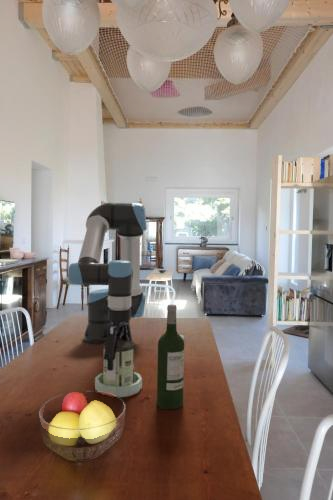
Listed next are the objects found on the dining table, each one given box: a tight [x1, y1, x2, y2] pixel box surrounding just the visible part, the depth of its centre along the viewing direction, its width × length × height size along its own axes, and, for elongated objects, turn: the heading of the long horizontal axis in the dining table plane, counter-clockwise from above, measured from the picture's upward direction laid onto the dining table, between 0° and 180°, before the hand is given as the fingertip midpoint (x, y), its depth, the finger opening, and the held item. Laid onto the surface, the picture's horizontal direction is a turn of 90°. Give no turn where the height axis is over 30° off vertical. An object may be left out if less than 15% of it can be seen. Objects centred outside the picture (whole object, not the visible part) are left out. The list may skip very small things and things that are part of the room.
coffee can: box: [102, 339, 136, 387], centre depth 127 cm, size 10×10×14 cm
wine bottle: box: [156, 303, 185, 410], centre depth 115 cm, size 8×8×30 cm
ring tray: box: [94, 371, 143, 398], centre depth 127 cm, size 15×15×3 cm
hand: (118, 371), depth 127 cm, fingers open, 13 cm apart
